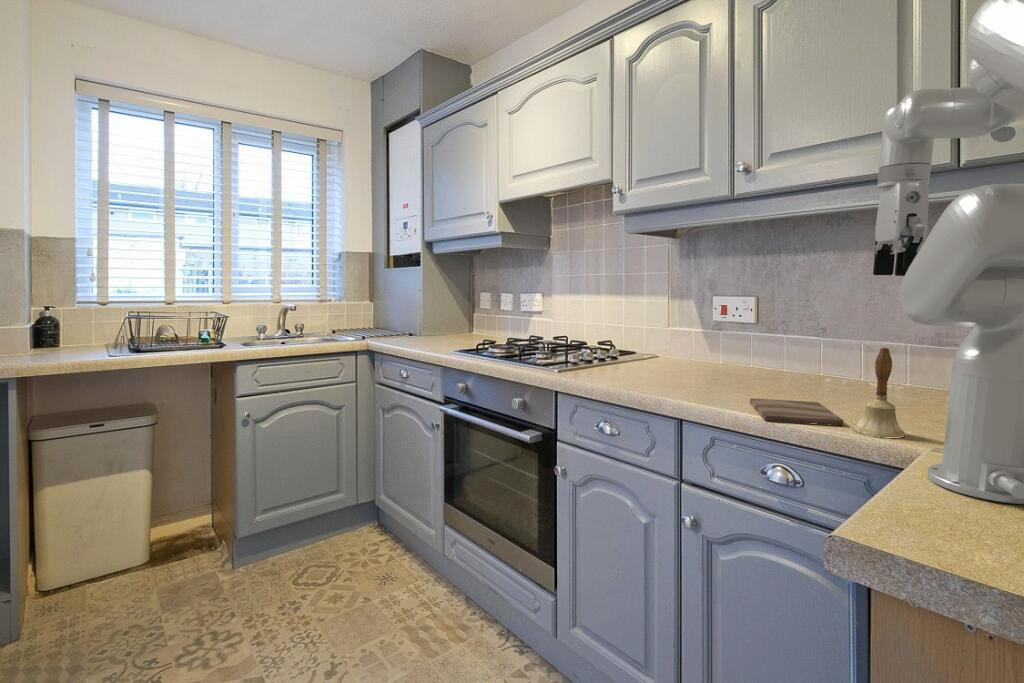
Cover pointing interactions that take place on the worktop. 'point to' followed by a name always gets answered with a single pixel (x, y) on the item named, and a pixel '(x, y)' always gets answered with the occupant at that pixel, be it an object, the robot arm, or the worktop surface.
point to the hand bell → (880, 404)
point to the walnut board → (794, 412)
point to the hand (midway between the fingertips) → (893, 275)
